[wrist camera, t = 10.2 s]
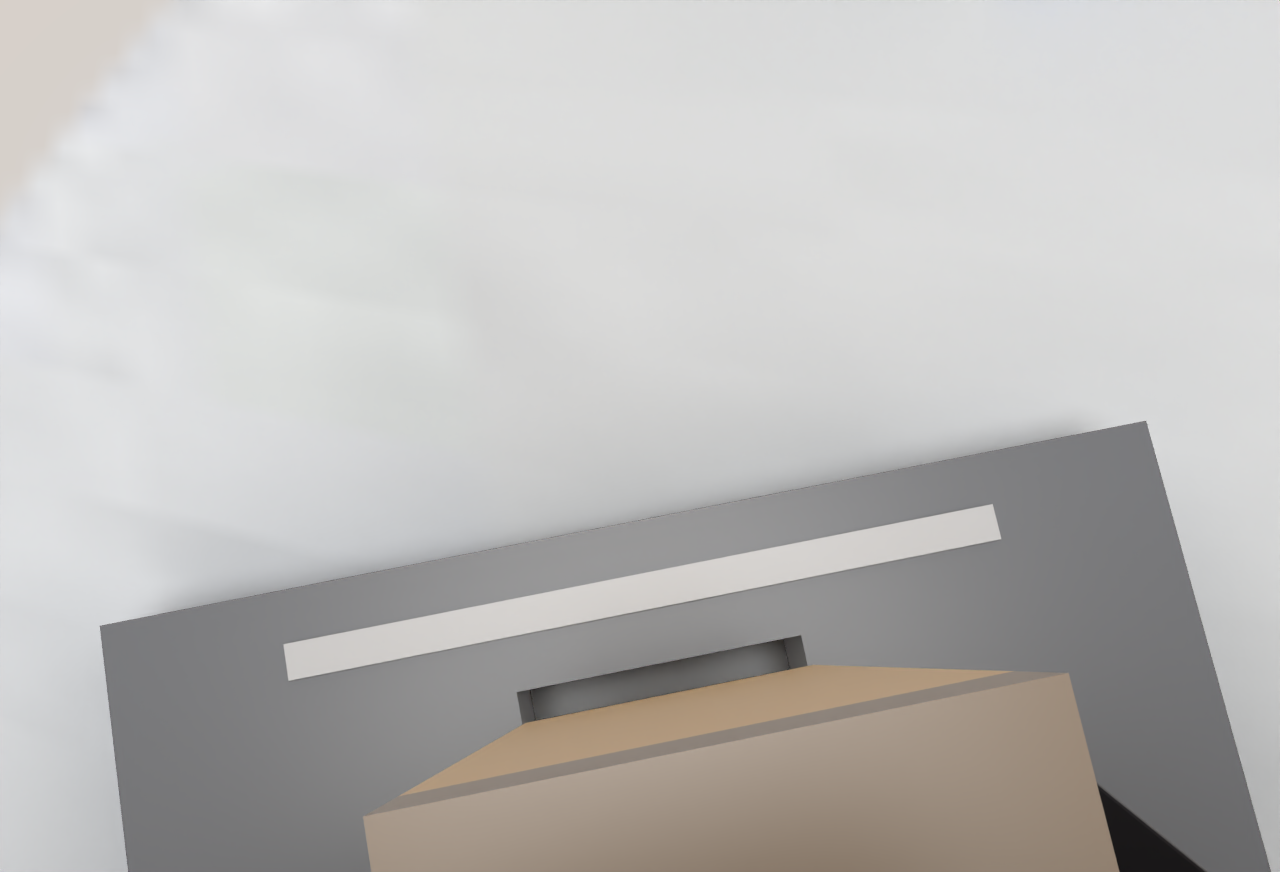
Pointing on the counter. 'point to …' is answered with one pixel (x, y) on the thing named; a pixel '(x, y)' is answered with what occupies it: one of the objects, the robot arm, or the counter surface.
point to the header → (682, 648)
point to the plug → (774, 782)
